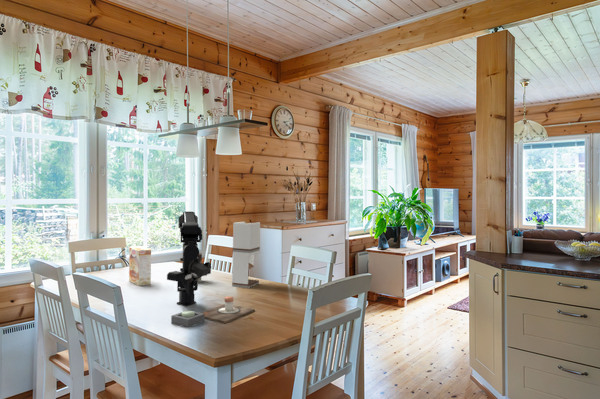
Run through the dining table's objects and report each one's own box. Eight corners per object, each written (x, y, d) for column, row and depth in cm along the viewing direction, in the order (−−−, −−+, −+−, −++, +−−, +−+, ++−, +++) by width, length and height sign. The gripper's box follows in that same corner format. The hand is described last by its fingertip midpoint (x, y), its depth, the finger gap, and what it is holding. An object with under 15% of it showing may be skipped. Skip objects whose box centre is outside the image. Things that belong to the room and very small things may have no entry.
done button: (178, 317, 160) (178, 313, 160) (188, 314, 164) (188, 310, 164) (188, 320, 158) (188, 315, 158) (197, 316, 162) (197, 312, 162)
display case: (249, 288, 219) (250, 223, 219) (232, 286, 223) (233, 222, 223) (258, 284, 230) (260, 222, 229) (242, 282, 234) (243, 221, 233)
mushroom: (222, 310, 174) (222, 297, 174) (228, 308, 178) (228, 295, 178) (229, 311, 172) (229, 299, 172) (235, 309, 176) (235, 297, 176)
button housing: (171, 323, 159) (171, 315, 159) (188, 317, 167) (188, 310, 167) (188, 327, 155) (188, 319, 155) (204, 321, 163) (204, 313, 163)
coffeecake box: (128, 281, 230) (129, 246, 230) (141, 279, 235) (141, 245, 235) (138, 286, 219) (138, 250, 219) (151, 284, 224) (151, 249, 223)
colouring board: (195, 316, 169) (195, 314, 169) (226, 305, 186) (226, 303, 186) (225, 323, 161) (225, 320, 161) (254, 311, 178) (254, 308, 178)
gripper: (187, 261, 149) (186, 303, 150) (221, 254, 165) (220, 292, 166) (166, 257, 155) (165, 298, 155) (200, 252, 171) (200, 288, 171)
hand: (189, 294), depth 162 cm, fingers closed
